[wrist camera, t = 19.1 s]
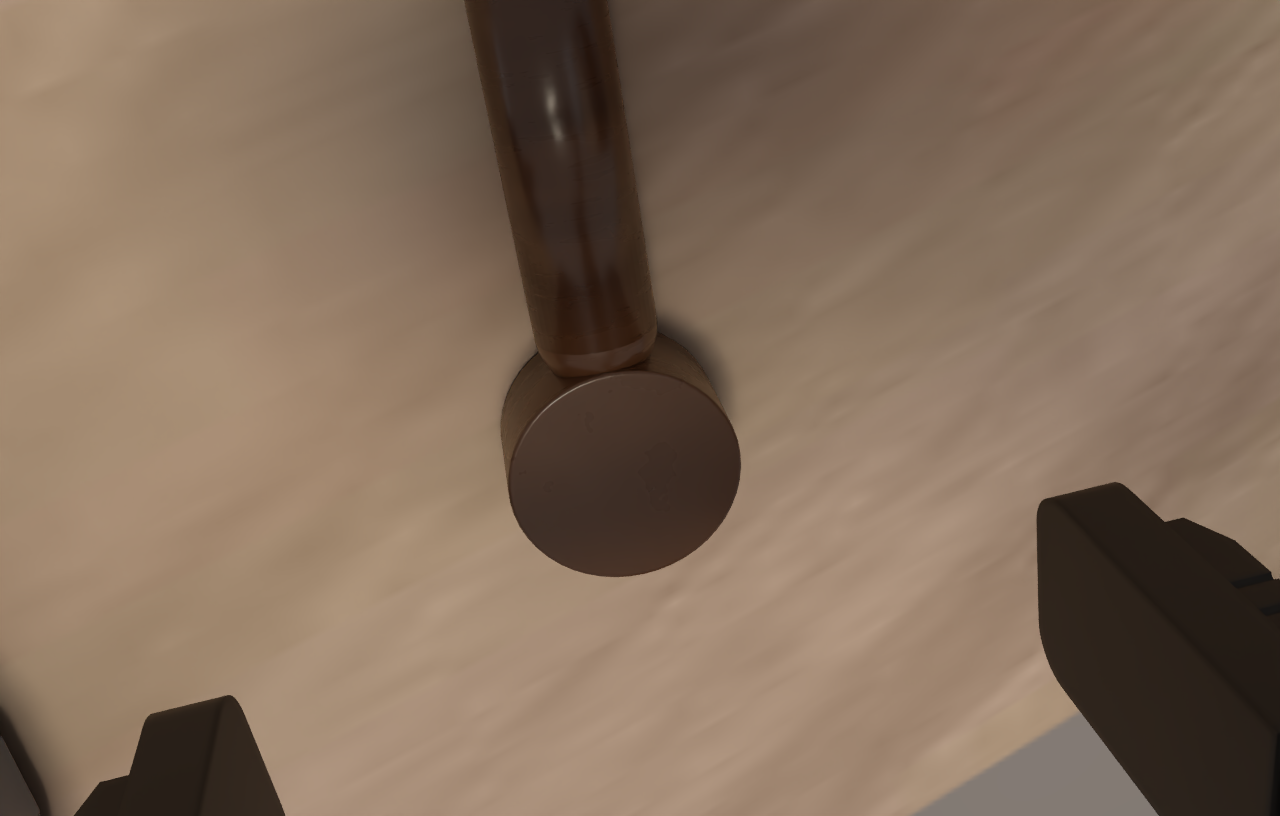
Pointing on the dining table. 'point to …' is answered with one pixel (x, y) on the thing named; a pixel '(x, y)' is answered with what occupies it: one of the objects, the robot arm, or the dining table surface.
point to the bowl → (14, 788)
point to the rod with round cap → (592, 311)
